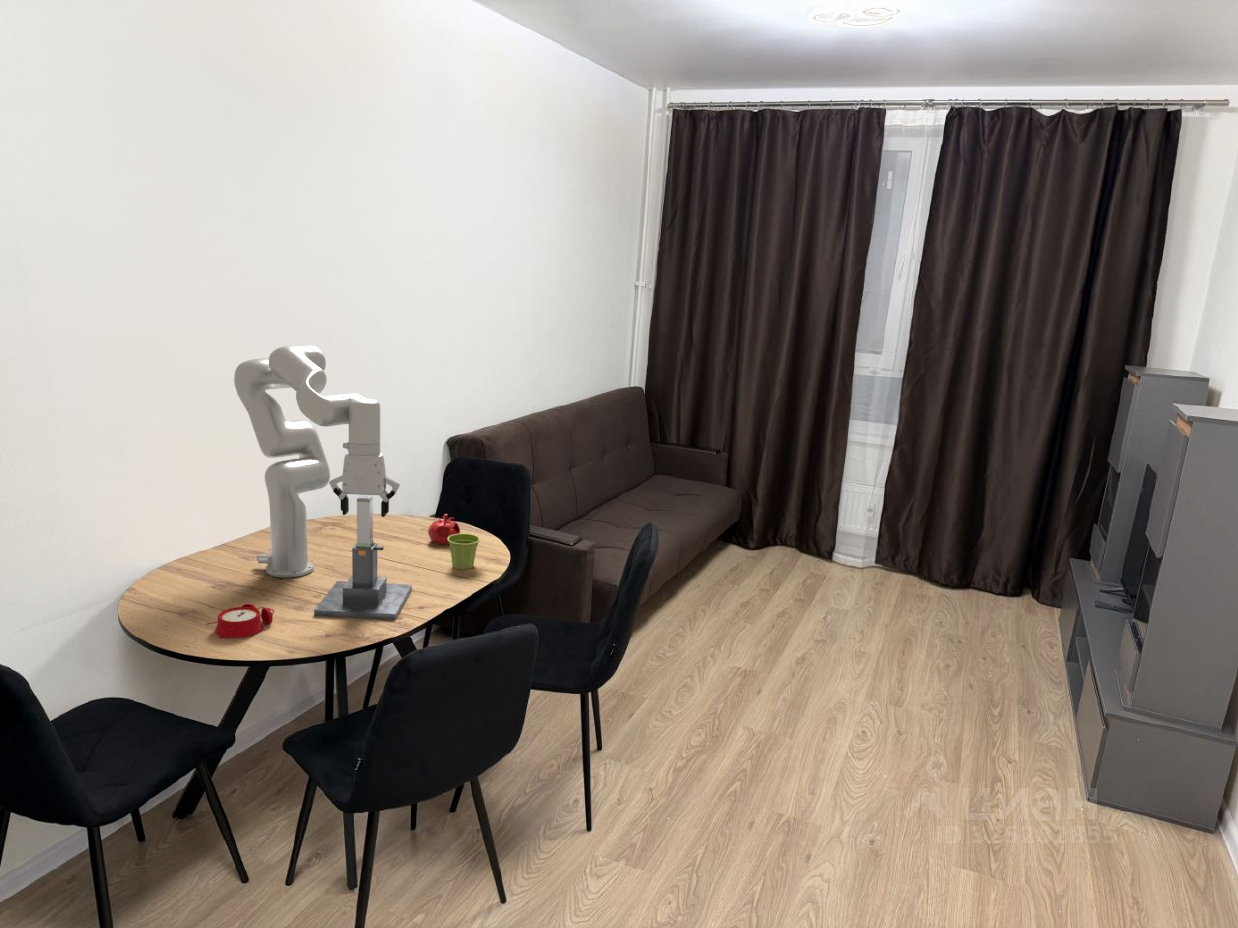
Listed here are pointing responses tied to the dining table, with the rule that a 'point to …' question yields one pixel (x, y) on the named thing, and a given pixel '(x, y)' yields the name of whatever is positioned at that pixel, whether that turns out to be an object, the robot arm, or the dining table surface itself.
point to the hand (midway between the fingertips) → (364, 514)
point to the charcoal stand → (364, 591)
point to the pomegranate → (443, 530)
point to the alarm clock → (242, 621)
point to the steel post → (364, 522)
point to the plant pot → (463, 550)
